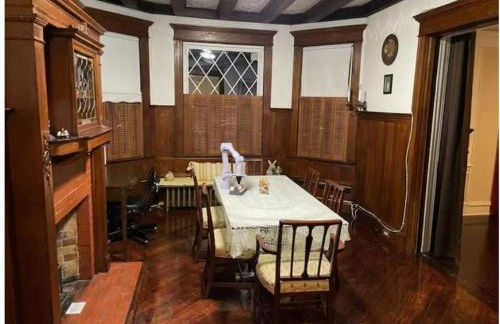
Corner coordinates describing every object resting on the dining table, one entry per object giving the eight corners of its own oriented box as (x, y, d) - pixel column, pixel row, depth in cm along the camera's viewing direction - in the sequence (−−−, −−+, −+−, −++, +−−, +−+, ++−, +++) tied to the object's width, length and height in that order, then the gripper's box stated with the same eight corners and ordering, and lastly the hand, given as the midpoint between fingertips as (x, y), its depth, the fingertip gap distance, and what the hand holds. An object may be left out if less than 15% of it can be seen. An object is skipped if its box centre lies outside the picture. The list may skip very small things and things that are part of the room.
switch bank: (229, 194, 335) (229, 191, 334) (235, 189, 355) (235, 186, 354) (241, 195, 332) (241, 192, 332) (246, 190, 352) (247, 187, 352)
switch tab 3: (240, 187, 348) (240, 184, 348) (240, 186, 351) (240, 183, 351) (243, 187, 348) (243, 184, 347) (243, 187, 350) (244, 184, 350)
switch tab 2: (238, 189, 341) (238, 186, 341) (238, 188, 344) (238, 185, 344) (241, 189, 341) (241, 186, 340) (242, 188, 344) (242, 185, 343)
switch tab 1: (230, 190, 336) (230, 187, 336) (231, 189, 339) (231, 186, 338) (233, 190, 335) (233, 187, 335) (234, 189, 338) (234, 186, 338)
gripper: (230, 169, 335) (230, 184, 337) (245, 171, 331) (245, 185, 333) (232, 168, 341) (232, 182, 344) (247, 169, 338) (247, 184, 340)
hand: (238, 184), depth 339 cm, fingers closed
